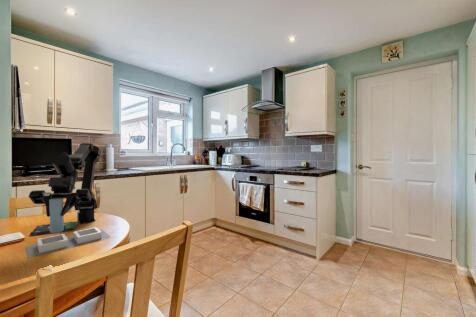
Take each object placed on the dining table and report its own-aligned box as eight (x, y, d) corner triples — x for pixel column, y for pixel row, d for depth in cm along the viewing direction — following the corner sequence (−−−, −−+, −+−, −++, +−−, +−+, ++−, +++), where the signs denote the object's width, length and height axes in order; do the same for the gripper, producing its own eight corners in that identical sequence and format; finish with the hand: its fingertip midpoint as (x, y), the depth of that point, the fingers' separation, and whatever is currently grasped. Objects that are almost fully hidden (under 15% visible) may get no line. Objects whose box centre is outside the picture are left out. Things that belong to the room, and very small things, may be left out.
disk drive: (30, 240, 92) (74, 233, 99) (29, 233, 92) (74, 227, 99) (37, 231, 101) (77, 226, 108) (37, 225, 101) (77, 220, 108)
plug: (62, 228, 87) (61, 197, 86) (64, 231, 84) (64, 199, 83) (49, 230, 84) (48, 199, 83) (50, 233, 81) (50, 200, 80)
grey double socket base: (102, 231, 100) (102, 224, 100) (111, 239, 92) (111, 231, 92) (25, 249, 82) (25, 239, 82) (27, 261, 74) (27, 250, 74)
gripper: (30, 169, 83) (12, 206, 74) (88, 168, 89) (78, 202, 79) (42, 186, 91) (26, 222, 81) (94, 185, 97) (86, 218, 87)
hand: (54, 215), depth 82 cm, fingers closed on plug, 4 cm apart
